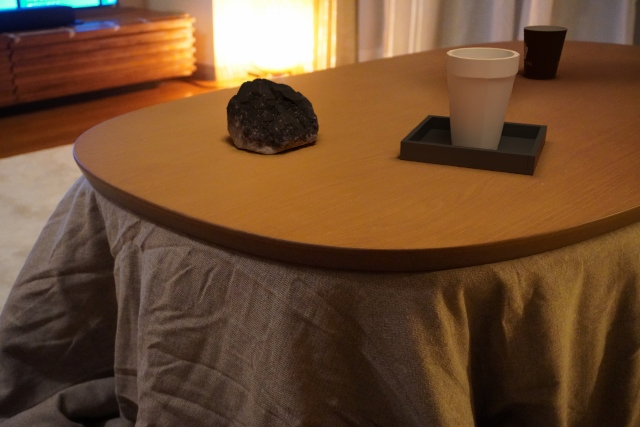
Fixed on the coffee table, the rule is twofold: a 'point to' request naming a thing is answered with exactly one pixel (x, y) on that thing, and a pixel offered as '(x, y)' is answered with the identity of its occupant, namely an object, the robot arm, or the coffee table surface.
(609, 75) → the coffee table surface
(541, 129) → the tray
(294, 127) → the crystal cluster
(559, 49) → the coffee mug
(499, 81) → the foam cup
